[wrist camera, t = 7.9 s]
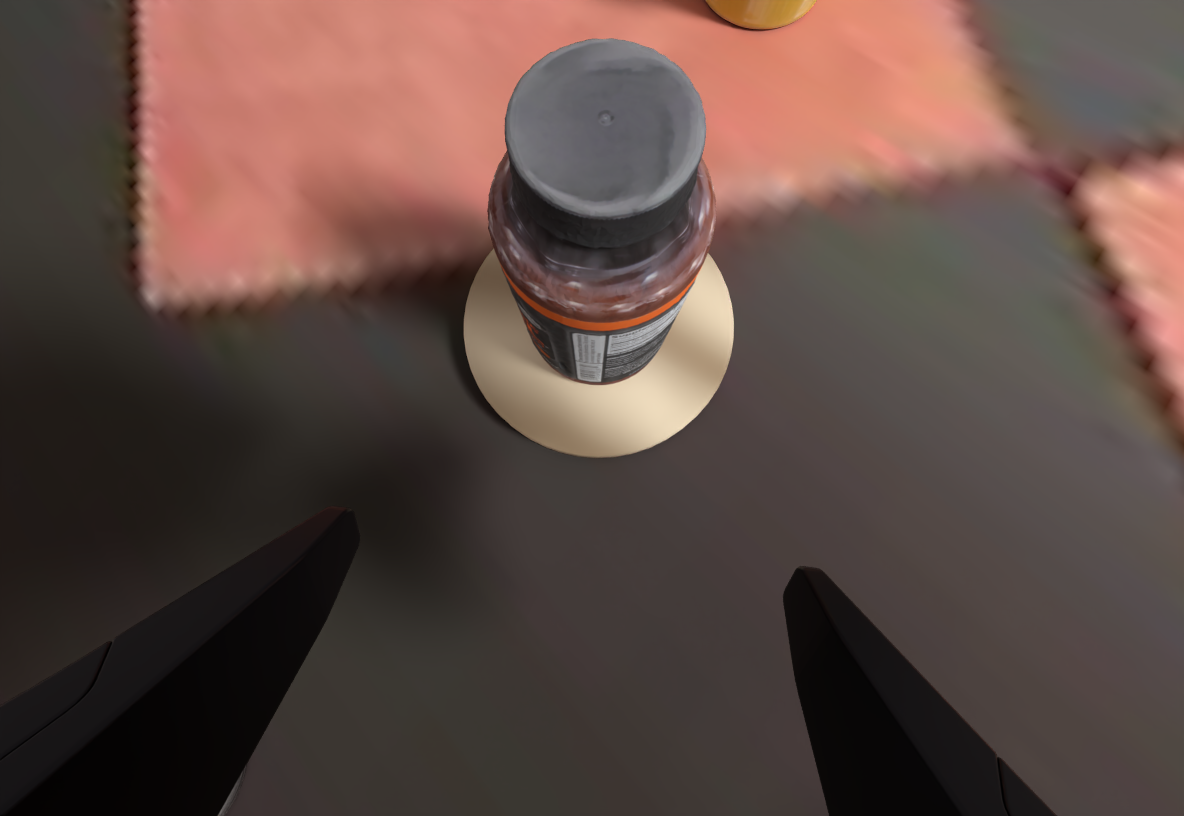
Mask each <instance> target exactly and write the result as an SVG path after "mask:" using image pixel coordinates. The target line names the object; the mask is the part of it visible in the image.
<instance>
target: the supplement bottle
mask: <svg viewBox="0 0 1184 816" xmlns="http://www.w3.org/2000/svg"><path fill="white" fill-rule="evenodd" d="M705 138H706V123H705V113H704V110H703V106H702V101H701V98H700V96H699V93H698V92H697V91H696V89H695V88H694V86H693V84H692V82H691V81H690V79H689V78H688V76H687V75H686V74H685V73H684V72H683V71H682V69H681V68H680V67H679V66H678V65H676V64H675V63H674V62H672V61H670V60H669V59H668V58H667V57H666V56H664V55H662V54H659V53H658V52H657V51H656V50H654V49H652V48H648V47H645V46H642V45H639V44H637V43H634V42H629V41H625V40H618V39H612V38H611V39H589V40H585V41H582V42H577V43H574V44H571V45H568V46H565V47H562V48H560V49H558V50H557V51H554V52H550V53H549V54H548V55H546V56H545V57H544V58H542V59H541V60H539V61H538V62H537V63H535V64H534V65H533V66H532V67H531V68H530V70H528V71H527V72H526V73H525V74H524V75H523V76H522V77H521V79H520V80H519V82H518V84H517V85H516V87H515V89H514V92H513V94H512V96H511V99H510V101H509V103H508V108H507V113H506V117H505V142H506V146H507V152H506V153H505V155H504V157H503V159H502V161H501V162H500V163H499V165H498V168H497V170H496V173H495V175H494V179H493V181H492V185H491V188H490V193H489V201H488V221H489V226H488V229H489V232H490V236H491V239H492V243H493V247H494V250H495V253H496V255H497V258H498V260H499V262H500V265H501V268H502V271H503V273H504V275H505V277H506V280H507V283H508V285H509V287H510V290H511V293H512V295H513V297H514V299H515V301H516V303H517V305H518V308H519V310H520V313H521V315H522V317H523V320H524V323H525V325H526V327H527V331H528V333H529V335H530V337H531V339H532V343H533V344H534V346H535V347H536V349H537V350H538V352H539V354H540V355H541V356H542V358H543V359H544V360H545V361H546V362H547V363H548V365H549V366H550V367H551V368H553V369H554V370H555V371H557V372H558V373H559V374H561V375H562V376H564V377H565V378H568V379H570V380H572V381H575V382H579V383H583V384H588V385H609V384H614V383H618V382H621V381H623V380H626V379H628V378H630V377H632V376H634V375H636V374H637V373H638V372H640V371H641V370H642V369H643V368H645V367H646V366H647V365H648V363H649V362H650V361H651V360H652V359H653V357H654V356H655V355H656V354H657V352H658V350H659V349H660V347H661V346H662V344H663V342H664V340H665V338H666V336H667V334H668V332H669V331H670V329H671V327H672V324H673V323H674V321H675V319H676V317H677V315H678V313H679V311H680V309H681V308H682V306H683V303H684V301H685V300H686V297H687V296H688V294H689V292H690V290H691V288H692V286H693V284H694V283H695V280H696V277H697V275H698V273H699V271H700V270H701V268H702V266H703V263H704V261H705V259H706V257H707V254H708V251H709V248H710V245H711V242H712V239H713V234H714V230H715V222H716V199H715V193H714V187H713V184H712V180H711V177H710V174H709V171H708V169H707V167H706V164H705V162H704V160H703V159H702V154H703V150H704V145H705Z"/></svg>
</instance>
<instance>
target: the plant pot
mask: <svg viewBox="0 0 1184 816" xmlns="http://www.w3.org/2000/svg"><path fill="white" fill-rule="evenodd" d="M706 2H707V4H708V5H709V6H710V7H711V9H712V10H713V11H714V12H716V13H717V14H718V15H719V16H721V17H722V18H723V19H725V20H727V21H729V22H731V23H733V24H735V25H738V26H741V27H745V28H750V29H773V28H779V27H782V26H786V25H788V24H790V23H793V22H795V21H796V20H798V19H799V18H801V17H802V16H804V15H805V14H806V13H807V12H808V11H809V10H810V9H811V8H812V6H813V5H814V4H815V2H816V0H706Z"/></svg>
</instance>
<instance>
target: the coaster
mask: <svg viewBox="0 0 1184 816" xmlns="http://www.w3.org/2000/svg"><path fill="white" fill-rule="evenodd" d="M733 335H734V320H733V311H732V304H731V300H730V297H729V293H728V289H727V287H726V284H725V282H724V279H723V277H722V275H721V273H720V271H719V269H718V267H717V266H716V264H715V262H714V261H713V259H712V258H711V256H710V255H709V254H707V257H706V259H705V261H704V263H703V266H702V268H701V270H700V271H699V273H698V275H697V277H696V280H695V283H694V284H693V286H692V288H691V290H690V292H689V294H688V296H687V297H686V300H685V301H684V303H683V306H682V308H681V309H680V311H679V313H678V315H677V317H676V319H675V321H674V323H673V324H672V327H671V329H670V331H669V332H668V334H667V336H666V338H665V340H664V342H663V344H662V346H661V347H660V349H659V350H658V352H657V354H656V355H655V356H654V357H653V359H652V360H651V361H650V362H649V363H648V365H647V366H646V367H645V368H643V369H642V370H641V371H640V372H638V373H637V374H636V375H634V376H632V377H630V378H628V379H626V380H623V381H621V382H618V383H614V384H609V385H588V384H583V383H579V382H575V381H572V380H570V379H568V378H565V377H564V376H562V375H561V374H559V373H558V372H557V371H555V370H554V369H553V368H551V367H550V366H549V365H548V363H547V362H546V361H545V360H544V359H543V358H542V356H541V355H540V354H539V352H538V350H537V349H536V347H535V346H534V344H533V343H532V339H531V337H530V335H529V333H528V331H527V327H526V325H525V323H524V320H523V317H522V315H521V313H520V310H519V308H518V305H517V303H516V301H515V299H514V297H513V295H512V293H511V290H510V287H509V285H508V283H507V280H506V277H505V275H504V273H503V271H502V268H501V265H500V262H499V260H498V258H497V255H496V253H495V250H494V249H493V250H492V251H491V252H490V254H489V255H488V256H487V257H486V259H485V260H484V262H483V264H482V265H481V267H480V269H479V270H478V272H477V274H476V276H475V279H474V281H473V283H472V286H471V288H470V292H469V295H468V299H467V302H466V308H465V315H464V341H465V349H466V355H467V358H468V362H469V365H470V369H471V371H472V374H473V376H474V378H475V380H476V383H477V385H478V387H479V388H480V390H481V392H482V393H483V395H484V396H485V398H486V400H487V401H488V402H489V403H490V405H491V406H492V407H493V408H494V409H495V411H496V412H497V413H498V414H499V415H500V416H501V417H502V418H503V419H504V420H505V421H506V422H508V423H509V424H510V425H511V426H512V427H513V428H515V429H516V430H517V431H519V432H520V433H521V434H523V435H524V436H526V437H527V438H529V439H530V440H532V441H534V442H536V443H538V444H540V445H542V446H544V447H546V448H548V449H551V450H554V451H557V452H560V453H563V454H567V455H572V456H577V457H585V458H613V457H619V456H625V455H630V454H634V453H637V452H640V451H643V450H646V449H649V448H651V447H653V446H655V445H657V444H659V443H661V442H663V441H665V440H667V439H668V438H670V437H671V436H673V435H674V434H676V433H677V432H679V431H680V430H681V429H682V428H684V427H685V426H686V425H687V424H688V423H689V422H690V421H692V420H693V419H694V418H695V417H696V416H697V415H698V414H699V413H700V412H701V411H702V409H703V408H704V407H705V406H706V405H707V404H708V403H709V401H710V400H711V398H712V396H713V395H714V393H715V392H716V390H717V389H718V387H719V385H720V383H721V381H722V379H723V376H724V374H725V372H726V369H727V366H728V363H729V359H730V356H731V351H732V344H733Z"/></svg>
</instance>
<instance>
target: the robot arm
mask: <svg viewBox="0 0 1184 816" xmlns="http://www.w3.org/2000/svg"><path fill="white" fill-rule="evenodd" d="M359 542H360V533H359V530H358V526H357V522H356V518H355V514H354V511H353V510H352V509H351V508H347V507H340V506H330V507H327V508H325V509H324V510H322V511H320V512H319V513H317V514H316V515H314V516H312V517H311V518H309V519H307V520H306V521H304V522H303V523H301V524H299V525H298V526H296V527H294V528H293V529H291V530H289V531H288V532H286V533H285V534H283V535H281V536H280V537H278V538H276V539H275V540H273V541H272V542H270V543H268V544H267V545H265V546H263V547H262V548H260V549H258V550H257V551H255V552H254V553H252V554H250V555H249V556H247V557H245V558H244V559H242V560H241V561H239V562H237V563H236V564H234V565H232V566H231V567H229V568H227V569H226V570H224V571H223V572H221V573H219V574H218V575H216V576H214V577H213V578H211V579H210V580H208V581H206V582H205V583H203V584H201V585H200V586H198V587H196V588H195V589H193V590H192V591H190V592H188V593H187V594H185V595H183V596H182V597H180V598H179V599H177V600H175V601H174V602H172V603H170V604H169V605H167V606H165V607H164V608H162V609H161V610H159V611H157V612H156V613H154V614H152V615H151V616H149V617H148V618H146V619H144V620H143V621H141V622H139V623H138V624H136V625H135V626H133V627H131V628H130V629H128V630H126V631H125V632H123V633H121V634H120V635H118V636H117V637H115V638H114V640H113V642H112V641H109V642H106V643H105V644H103V645H102V646H100V647H98V648H97V649H95V650H93V651H92V652H90V653H89V654H87V655H85V656H84V657H82V658H80V659H79V660H77V661H75V662H74V663H72V664H70V665H69V666H67V667H65V668H64V669H62V670H60V671H59V672H57V673H55V674H54V675H52V676H50V677H48V678H47V679H45V680H43V681H42V682H40V683H38V684H37V685H35V686H33V687H32V688H30V689H28V690H26V691H25V692H23V693H21V694H19V695H17V696H16V697H14V698H12V699H10V700H9V701H7V702H5V703H3V704H1V705H0V816H218V815H219V813H220V811H221V809H222V808H223V806H224V804H225V802H226V800H227V799H228V797H229V795H230V793H231V791H232V790H233V788H234V786H235V784H236V782H237V781H238V779H239V777H240V775H241V773H242V772H243V770H244V768H245V766H246V764H247V763H248V761H249V759H250V757H251V755H252V754H253V752H254V750H255V748H256V746H257V745H258V743H259V741H260V739H261V737H262V736H263V734H264V732H265V730H266V728H267V727H268V725H269V723H270V721H271V719H272V718H273V716H274V714H275V712H276V710H277V709H278V707H279V705H280V703H281V701H282V700H283V698H284V696H285V694H286V692H287V691H288V689H289V687H290V685H291V683H292V682H293V680H294V678H295V676H296V674H297V673H298V671H299V669H300V667H301V665H302V664H303V662H304V660H305V658H306V656H307V655H308V653H309V651H310V649H311V647H312V646H313V644H314V642H315V640H316V638H317V637H318V635H319V633H320V631H321V629H322V627H323V626H324V624H325V622H326V620H327V618H328V616H329V613H330V611H331V609H332V607H333V605H334V602H335V600H336V598H337V595H338V593H339V591H340V588H341V586H342V584H343V581H344V579H345V577H346V574H347V572H348V570H349V567H350V565H351V563H352V560H353V558H354V556H355V553H356V551H357V549H358V546H359ZM783 603H784V610H785V617H786V624H787V631H788V637H789V644H790V651H791V658H792V665H793V671H794V676H795V682H796V686H797V690H798V695H799V699H800V703H801V707H802V710H803V714H804V718H805V722H806V726H807V730H808V734H809V738H810V742H811V746H812V750H813V754H814V758H815V762H816V766H817V769H818V773H819V777H820V781H821V785H822V789H823V793H824V797H825V801H826V805H827V809H828V813H829V816H1057V815H1056V814H1055V813H1054V812H1053V811H1052V810H1051V809H1050V808H1049V807H1048V806H1047V805H1046V804H1045V803H1044V802H1043V801H1042V800H1041V799H1040V798H1039V797H1038V796H1037V795H1036V794H1035V793H1034V792H1033V791H1032V790H1031V789H1030V788H1029V787H1028V785H1027V784H1026V783H1025V782H1024V781H1023V780H1022V779H1021V778H1020V777H1019V776H1018V775H1017V774H1016V773H1015V772H1014V771H1013V770H1012V769H1011V768H1010V767H1009V766H1008V765H1007V764H1006V762H1005V761H1004V760H1003V759H1001V758H999V757H997V754H996V752H995V751H994V750H993V749H992V748H991V747H990V746H989V745H988V744H987V743H986V742H985V741H984V740H983V739H982V737H981V736H980V735H979V734H978V733H977V732H976V731H975V730H974V729H973V728H972V727H971V726H970V725H969V724H968V723H967V722H966V721H965V720H964V719H963V718H962V716H961V715H960V714H959V713H958V712H957V711H956V710H955V709H954V708H953V707H952V706H951V705H950V704H949V703H948V702H947V701H946V700H945V699H944V698H943V697H942V695H941V694H940V693H939V692H938V691H937V690H936V689H935V688H934V687H933V686H932V685H931V684H930V683H929V682H928V681H927V680H926V679H925V678H924V677H923V676H922V674H921V673H920V672H919V671H918V670H917V669H916V668H915V667H914V666H913V665H912V664H911V663H910V662H909V661H908V660H907V659H906V658H905V657H904V656H903V655H902V653H901V652H900V651H899V650H898V649H897V648H896V647H895V646H894V645H893V644H892V643H891V642H890V641H889V640H888V639H887V638H886V637H885V636H884V635H883V634H882V632H881V631H880V630H879V629H878V628H877V627H876V626H875V625H874V624H873V623H872V622H871V621H870V620H869V619H868V618H867V617H866V616H865V615H864V614H863V612H862V611H861V610H860V609H859V608H858V607H857V606H856V605H855V604H854V603H853V602H852V601H851V600H850V599H849V598H848V597H847V596H846V595H845V594H844V593H843V591H842V590H841V589H840V588H839V587H838V586H837V585H836V584H835V583H834V582H833V581H832V580H831V579H830V578H829V577H828V576H827V575H826V574H825V573H824V572H823V571H822V570H821V569H818V568H813V567H806V566H800V567H798V568H797V569H796V570H795V572H794V574H793V575H792V577H791V579H790V581H789V583H788V585H787V586H786V588H785V591H784V595H783Z"/></svg>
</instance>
